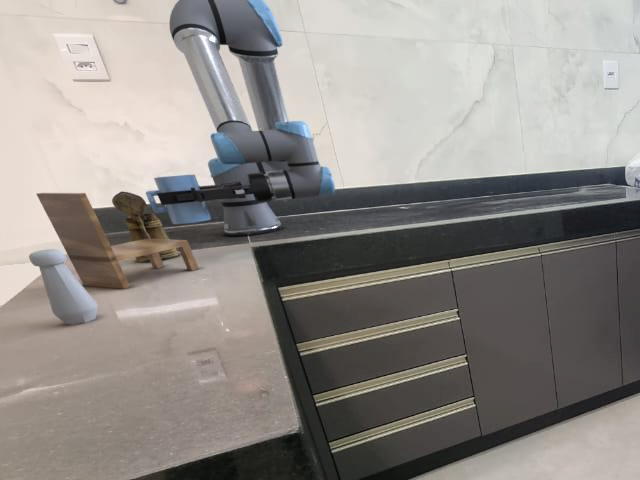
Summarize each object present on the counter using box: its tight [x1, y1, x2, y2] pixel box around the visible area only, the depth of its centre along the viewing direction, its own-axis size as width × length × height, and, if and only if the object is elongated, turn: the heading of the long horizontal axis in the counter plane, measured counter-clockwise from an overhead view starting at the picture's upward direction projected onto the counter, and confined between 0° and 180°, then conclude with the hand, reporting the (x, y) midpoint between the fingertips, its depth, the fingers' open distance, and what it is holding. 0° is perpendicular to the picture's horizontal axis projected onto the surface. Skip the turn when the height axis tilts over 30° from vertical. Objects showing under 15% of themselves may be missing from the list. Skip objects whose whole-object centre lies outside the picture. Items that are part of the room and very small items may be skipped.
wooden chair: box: [36, 192, 200, 290], centre depth 120 cm, size 16×14×20 cm
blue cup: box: [145, 173, 212, 225], centre depth 131 cm, size 11×8×11 cm
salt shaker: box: [28, 248, 99, 326], centre depth 94 cm, size 6×6×13 cm
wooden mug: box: [111, 191, 179, 263], centre depth 136 cm, size 9×14×18 cm, turn 35°
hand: (160, 197), depth 130 cm, fingers closed on blue cup, 8 cm apart
